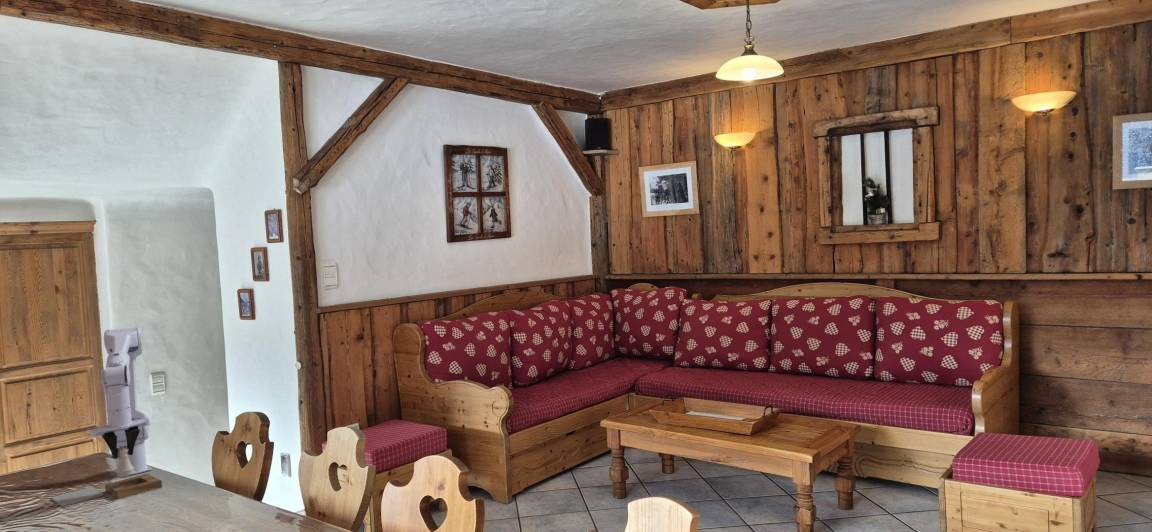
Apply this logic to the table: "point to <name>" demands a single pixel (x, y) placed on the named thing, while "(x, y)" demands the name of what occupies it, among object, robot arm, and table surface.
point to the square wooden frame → (133, 486)
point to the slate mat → (77, 496)
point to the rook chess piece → (124, 463)
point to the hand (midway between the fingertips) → (122, 456)
